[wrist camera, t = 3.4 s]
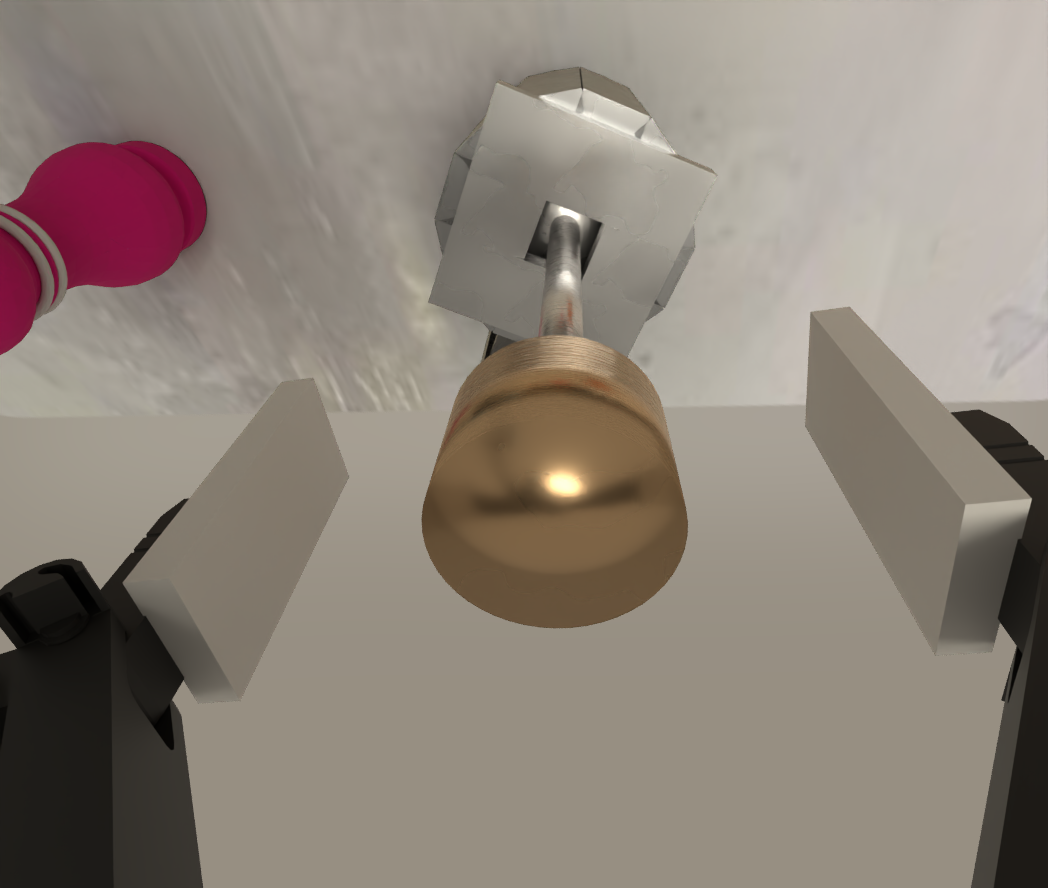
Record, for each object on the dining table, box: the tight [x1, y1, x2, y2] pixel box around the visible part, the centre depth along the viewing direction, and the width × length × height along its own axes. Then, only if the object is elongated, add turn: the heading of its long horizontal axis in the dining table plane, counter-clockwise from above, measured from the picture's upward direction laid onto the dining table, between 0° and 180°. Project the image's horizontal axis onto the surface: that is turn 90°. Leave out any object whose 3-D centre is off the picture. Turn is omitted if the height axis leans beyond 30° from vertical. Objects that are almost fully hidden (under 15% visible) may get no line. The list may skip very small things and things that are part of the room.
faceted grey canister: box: [429, 67, 718, 362], centre depth 33 cm, size 10×13×14 cm
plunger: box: [422, 200, 688, 628], centre depth 20 cm, size 7×7×20 cm
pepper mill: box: [0, 141, 206, 355], centre depth 32 cm, size 7×7×20 cm
